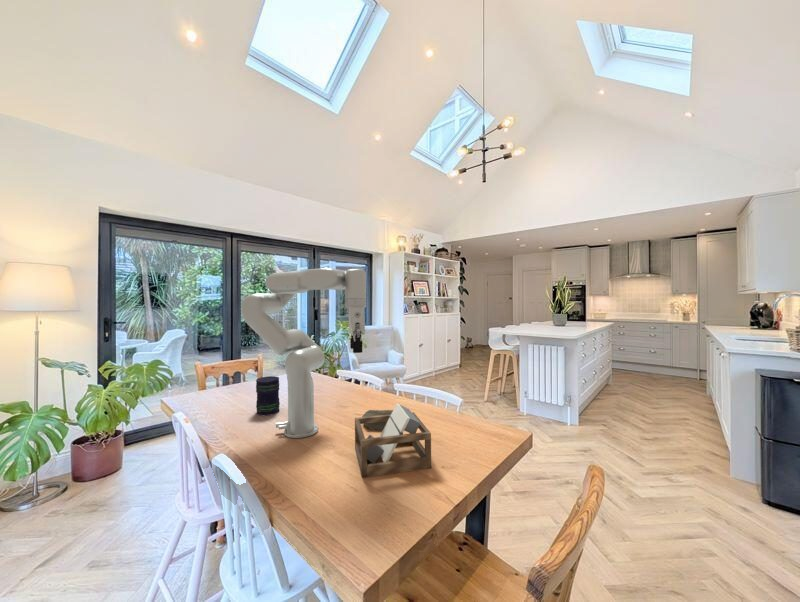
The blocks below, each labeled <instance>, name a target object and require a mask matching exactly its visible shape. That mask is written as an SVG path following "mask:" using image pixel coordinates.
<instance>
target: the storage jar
mask: <svg viewBox="0 0 800 602" xmlns="http://www.w3.org/2000/svg"><path fill="white" fill-rule="evenodd" d="M255 381H256V383H255V389H256V390H255V392H256V404H255V408H256V415H257V414H258V416H262V415H265V416H272V415H275V414H277V413H279V412H280V397H279V394H280V392H279V391H280V377H278V376H275V375H274V376H273V375H272V376H271V375H270V376H269V375H268V376H263V377H259V378H256V380H255ZM278 411H279V412H278ZM271 414H272V415H271Z"/></svg>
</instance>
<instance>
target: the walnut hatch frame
mask: <svg viewBox="0 0 800 602" xmlns="http://www.w3.org/2000/svg"><path fill="white" fill-rule="evenodd" d="M411 412H412V411H411ZM412 413H413V415H414V416H415V417H416V418H417V420H418V421H419V422H420V425H419V427H418V429H419V431H420V432H416V433H413V434H411V433H403V435H395V436H386V437H380V436H378V437H374V438H369V439H367V438H366V437H365V434H364V431H363V428H362V425H364V424H365V423H375V422H385V421H388V419H389V418H390V417H389V416H390V415H391V414H390V415H379V416H369V417H362V416H361V417H354V449H355V454H356V459H357V463H358V467H359V471H360V474H361V478H363V479H364V478H369V477H375V476H376V477H377V476H383V475H392V474H398V473H404V472H411V471H412V472H413V471H418V470H426V469H427V470H428V469H431V468H432V433H431V431H430V430H429V429H428V428H427V426H426V425H425V423H423V421H422V420H421V419H420V418H419V417H418V416H417V414H416V413H415V411H414V412H412ZM421 441H424V445H423V444H422V443H421ZM395 443H397V445H396V446H402V445H412V446H413V448H414V449H415V451H416V452H417V454H418V456H419V457H413V458H406V459H398V460H389V461H388V462H383V461H382V462H377V463H376V462H374V464H373V463H369V464H368V459H367V447H370V446H378V445H386V444H395ZM360 446H361V450H360Z"/></svg>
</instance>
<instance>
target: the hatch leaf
mask: <svg viewBox="0 0 800 602" xmlns="http://www.w3.org/2000/svg"><path fill="white" fill-rule="evenodd" d="M392 410H393V412H392V414H391V415H390V416H389V417H390V418H389V419H388V421H387V423H386V425H385V427H384V429H383V431H381V433H380V436H379V437H386V436H395V435H403V434H404V432H407V434H410V433H411V434H413V433H417V431H418V429H419V428H418V427H419V425H420V422H419V421H418V420H417V418H416V417H415V416H414V415H413V413H412V411H411V410H410V409H409V408H407V407H406V406H403V405H402V404H400V403H397V402H396V405H395V406H394V407H393V409H392ZM397 446H398V445H397V443H395V444H386V445H382V447H383V449H384V451H383V453H382V454H381V455H380V457H381V459H382V462H390V460H391V457H392V455H393V452H394V451H395V449H396V447H397Z"/></svg>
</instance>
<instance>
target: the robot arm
mask: <svg viewBox="0 0 800 602" xmlns="http://www.w3.org/2000/svg"><path fill="white" fill-rule="evenodd" d="M264 283H265V287H266V289H267V291H269V292H270V293H267V292H264V293H263V292H261V293H260V292H258V293H257V292H256V293H251V294H248V295H247V296H245V297H244V298H243V300H242V302H241V306H240V308H241V309H240V310H241V315H242V318H243V321H244V322H245V323H246V324H247V326H249V328H250V329H252V330H253V331H254V332H255V333H256V334H257V335H258V336H259V337H260V338H261V339H262V340H263V341H264V342H265V343H266V345H268V346H269V348H270V349H271V350H272V351H273V352H274V353H275V354H277V355H279V356H285V355H287V357H286V358H285V362H284V369H285V373H286V379H287V380H286V381H287V402H288V403H287V407H288V409H287V411H288V413H287V415H288V417H287V418H288V419H287V420H285V421H284V422H283V421H281V422H275V428H276V429H278V430H283V434H284V436H285V437H287V438H290V439H301V438H302V439H303V438H308V437H310V436H313V435H315V434H317V432H318V431H319V426H318V424H316V423H315V389H314V388H315V385H314V379H313V377H312V373H311V372H313V371H316V370H317V369H319V368H321V367H322V366H323V365H324V363H325V360H326V359H325V354H324V351H323V349H322V348H321V347H320V346H319V345H318V344H317V343H316V342H315V341H314V340H313V339H312V338H311V337H310V336H309V335H308V334H307V333H306V332H304V331H303V330H300V329H299V328H298V329H297V328H292V329H286V328H285V327H283V326H282V325H281V324H280V323H279V321H277V320H276V319H274V318H273V317H271V316H270V315H272V314H277V313H279V312H281V311H283V310H284V309H285V307H286V306H287V305H288V304H289V302H291V300H292V299H293V298H294V297H295V296H296V294H305V293H307V292H308V291H318V290H319V291H320V290H335V291H344V294H345V295H344V296H345V297H344V300H345V302H344V303H345V305H344V306H345V308H346V309H347V308H348V329H349V331H348V332H349V334H350V338H349V339H350V346H349V347H350V349H351V350H352V353H353V354H361V353H363V338H362V335H363V336H365V334H366V323H365V321H366V320H365V319H366V318H365V308H367V273H366V271H365V270H364V269H361V268H350V269H347V270H342V269H336V268H330V267H323V268H311V269H309V268H308V269H303V270H294V271H283V272H282V271H280V272H274V273H273V272H272V273H271V274H269V275H268V276H267V277H266V279H265V281H264Z"/></svg>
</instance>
